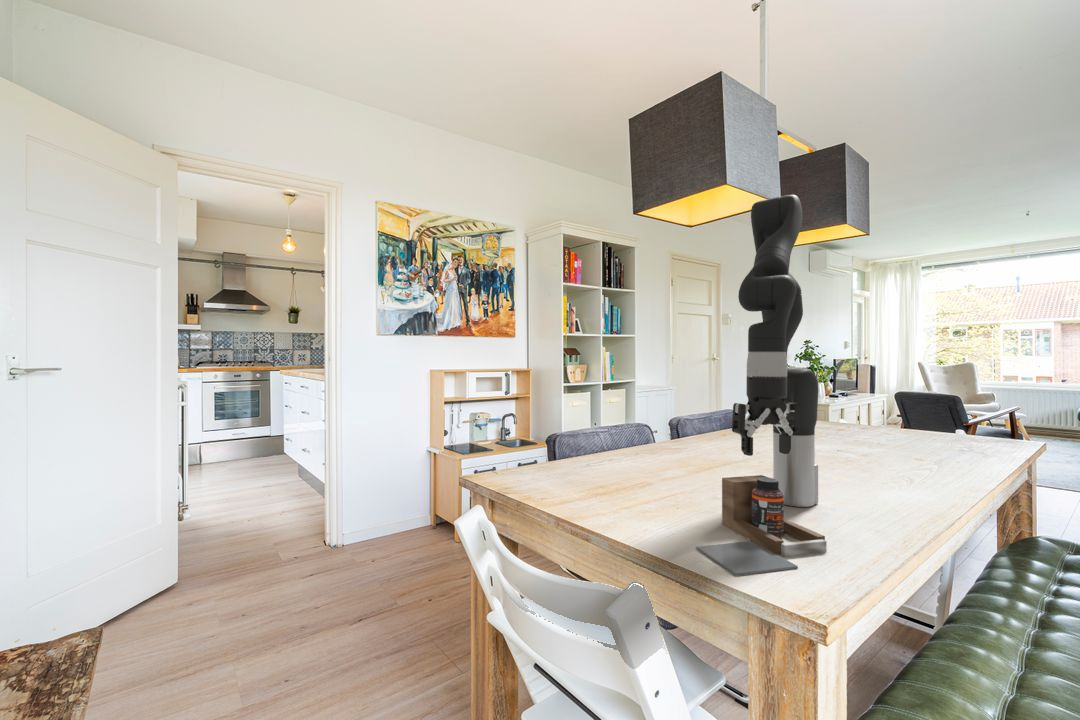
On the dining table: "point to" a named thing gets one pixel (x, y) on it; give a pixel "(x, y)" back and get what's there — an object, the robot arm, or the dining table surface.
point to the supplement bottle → (768, 506)
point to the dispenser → (740, 520)
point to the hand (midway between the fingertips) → (766, 454)
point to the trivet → (745, 558)
